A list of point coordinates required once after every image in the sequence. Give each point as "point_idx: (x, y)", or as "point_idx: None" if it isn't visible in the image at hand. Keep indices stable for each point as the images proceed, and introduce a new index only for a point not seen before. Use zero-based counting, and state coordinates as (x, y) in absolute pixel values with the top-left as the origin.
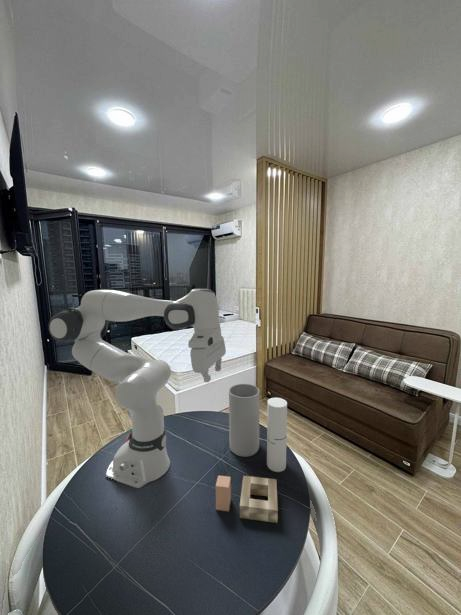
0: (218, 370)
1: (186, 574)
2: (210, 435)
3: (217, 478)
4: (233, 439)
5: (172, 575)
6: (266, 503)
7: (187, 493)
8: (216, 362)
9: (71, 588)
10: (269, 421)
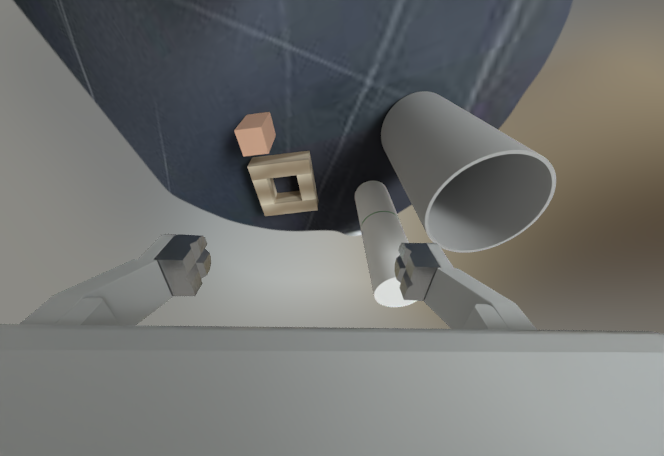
0: (396, 266)
1: (137, 105)
2: (465, 7)
3: (252, 128)
4: (397, 121)
5: (120, 83)
6: (269, 202)
7: (250, 33)
8: (464, 294)
9: None
10: (375, 247)
